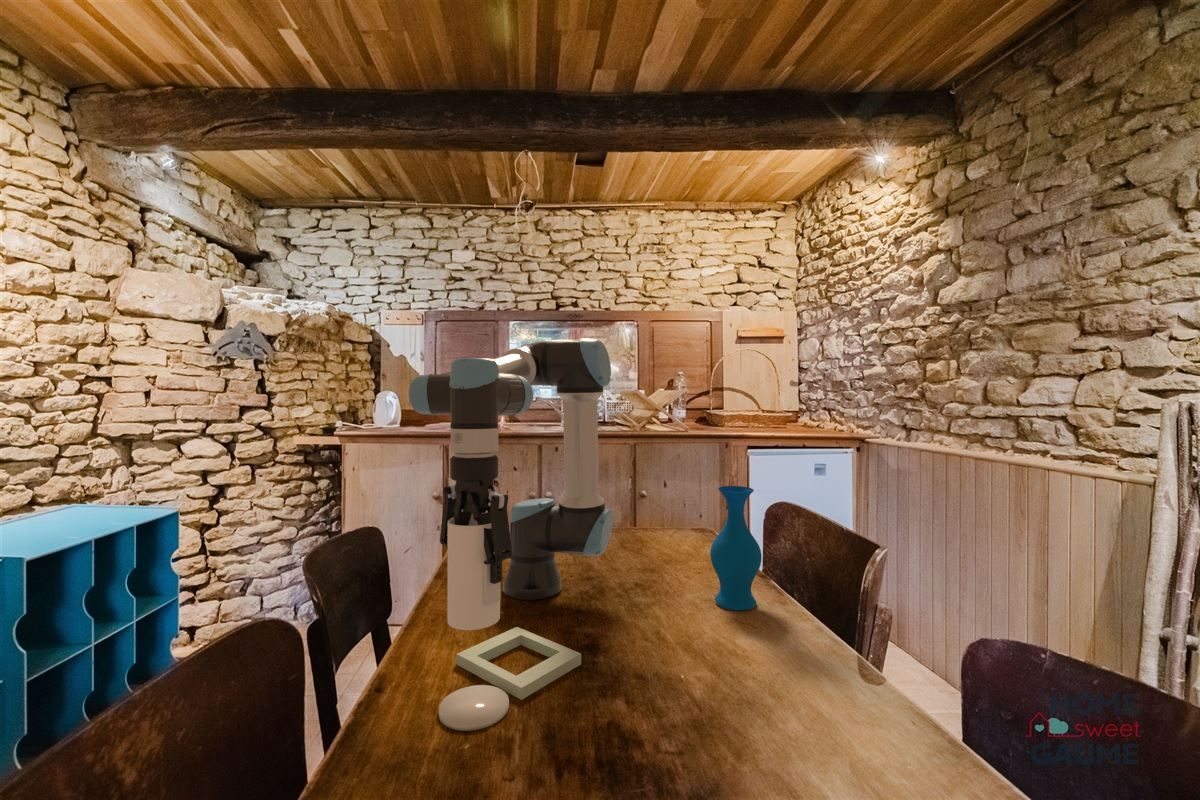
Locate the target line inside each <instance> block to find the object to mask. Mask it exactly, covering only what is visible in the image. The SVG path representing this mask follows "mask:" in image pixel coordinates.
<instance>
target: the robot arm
mask: <svg viewBox="0 0 1200 800" xmlns="http://www.w3.org/2000/svg"><path fill="white" fill-rule="evenodd" d="M611 376H612V366H611V359H610V355H609V353H608V349H607V347H606V345H605V344H604V343H603V342H602V341H601V340H599V339H596V338H585V337H584V338H571V339H570V338H569V339H566V338H565V339H543V340H539V341H538V340H537V341H534V342H531V343H530V342H529V343H527V344H524V345H521V346H518V347H515V348H512V349H509V350H507V351H506V352H505V353H504V354H503V355H502V356H499V357H496V358H484V357H481V358H480V357H460V358H456V359H454V360H453V361H452V362H451V364H450V371H447V372H444V373H440V374H439V373H438V374H433V373H428V374H421V375H417V376H416V377H414V378H413V380H412V381H411V383H410V385H409V388H408V398H409V403H410V404H409V405H410V406H411V408H412V409H413V410H414V411H415V412H416V413H418V414H420V415H430V416H450V426H449V427H450V453H451V454H453V455H452V456H451V458H450V459H449V478H450V479H451V480H452V481H454V482H455V485H447V486H444V487H443V489H442V490H443V491H442V492H443V493H442V494H443V508H442V516H441V526H440V535H439V543H440V545H444V546H445V548H446V551H448V520H449V519H451V518H454V525H461V526H468V525H469V522H470V518H471V515H472V514H473V518H474V520H475V521H477V522H478V525H485V524H490V523H491V527H492V528H490V529H487V528H484V549H485V553H486V557H487V560H486V561H484V605H486V606H488V605H490V604H493V603H496V602H498V601H500V602H501V582H502V580H503V582H502V592H503V594H504V595H505V596H507V597H509V598H510V599H512V598H513V599H516V600H522V601H523V600H525V601H526V600H527V601H536V600H542V599H547V598H551V597H553V596H556V595H557V594H559V593H560V592H561V591H562V578H561V575H560V572H559V569H558V565H557V562H556V558H555V557H556V553H560V554H567V555H568V554H569V555H570V554H571V555H580V556H583V557H587V556H594V557H599V556H601V555H602V554H603V553H605V551H606V549H607V547H608V545H609V543H610V539H611V536H612V531H613V523H614V515H613V512H612V510H611V509H609V508H606V504H605V503H606V502H605V501H606V500H605V499H604V498H603V497H602V496H601V495H600V494H599V493H600V492H599V491H600V490H599V427H598V423H599V422H598V421H599V419H598V414H599V413H598V411H599V410H598V400H599V398H600V397H601V396H602V395H603V394H604V387H607V386H608V385H610V383H611ZM532 386H540V387H541V386H544V387H547V386H548V387H549V386H550V387H556V394H557V395H558V397H559V398H561V400H562V406H563V407H562V415H563V419H562V420H563V462H564V463H563V465H564V466H563V467H564V469H563V470H564V471H563V474H564V495H563V496H562V497H561V498H560V499H559V501H558V505H556V503H557V502H556V501H555V499H554V498H550V497H543V498H532V499H528V500H523V501H520V502H517V503H515V504H513V505H512V506H511V508H510V514H509V515H508V503H509V496H508V494H507V493H498V492H496V489H495V486H494V481H495V479H497V478H498V476H499V457H498V456H497V455H496V454H495V453H497V452H498V451H499V417H503V416H505V417H506V416H511V417H514V416H516V415H520V414H523V413H524V412H526V411H527V410H528V409H529V408H530V407H531V405H532V402H533V400H534V390H533V387H532ZM493 552H494V553H495V554H493ZM507 559H509V563H508V566H507V571H506V574H505V577H504V578H503V561H504V560H507Z"/></svg>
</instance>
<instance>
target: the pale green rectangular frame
mask: <svg viewBox="0 0 1200 800" xmlns="http://www.w3.org/2000/svg"><path fill="white" fill-rule="evenodd" d="M519 646H523V647H525V648H527V649H528V650H532V651H533V652H536V653H539V654H540V655H543V656H546V657H548V658H547V659H545V660H543V661H541V662H539V663H537V664H535V665H534V666H532V667H530V668H528V669H526V670H524V671H523V672H521V673H519V674H517V675H516V674H514V673H512V672H510V671H508V670H506V669H504V668H502V667H500V666H498V665H496V664H494V663H492V662H490V661H491V660H493V659H495V658H497V657H499V656H501V655H504V654H505V653H507V652H509V651H511V650H513V649H515V648H518V647H519ZM455 656H456V658H455V660H456V661H455V662H456V666H459V667H460V668H462V669H463V670H466V671H468V672H469V673H471V674H472V675H475V676H477V677H478V678H480V679H482V680H484V681H486V682H488V683H490V684H492V686H494V687H497V688H500V689H501V690H503V691H504V692H505V693H508V694H509V695H512V696H513V697H515V698H517V699H519V700H520V701H523V700H524V699H526V698H527V697H529V696H530V695H532V694H534V693H535V692H537V691H539V690H540V689H543V688H544V687H545V686H547V685H549V684H551V683H552V682H554V681H556V680H557V679H558V678H561V677H562V676H565V674H567V673H569V672H570V671H572V670H574V669H576V668H577V667H579V666H581V665H582V653H580V652H578V651H576V650H573V649H571V648H569V647H566V646H564V645H561V644H559V643H557V642H554V641H552V640H550V639H547V638H545V637H542V636H540V635H538V634H535V633H533V632H530V631H528V630H526V629H523V628H520V627H518V626H515V627H512V628H511V629H509V630H507V631H505V632H502V633H500V634H498V635H495V636H492V637H490V638H488V639H486V640H484V641H482V642H480V643H477V644H476V645H473V646H471V647H468V648H467V649H465V650H462V651H460V652H458V653H456V655H455Z"/></svg>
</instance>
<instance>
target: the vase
mask: <svg viewBox="0 0 1200 800" xmlns="http://www.w3.org/2000/svg"><path fill="white" fill-rule="evenodd" d="M717 490H718V491H719V492H720V494H722V496H723V497H724V500H725V503H726V506H727V517H726V520H725V523H724V526H723V528H722V529H721V531H720V532H719V533H718V534H717V536H716V537H715V538H714V540H713V542H712V545H711V547H710V552H709V556H710V560H711V565H712V567H713V570H714V571H715V574H716V575H717V578H718V580H719V587H720V588H719V590H718V591H719V592H718V593H717V595H716V596H715V597H714V602H715V603H716V604H717V605H718V606H720V607H721V608H724V609H726V610H730V611H737V612H738V611H739V612H742V611H743V612H744V611H749V610H752V609H754V608H755V607H756V606H757V604H758V603H757V601H756V598H755V597H754V596H753V593H752V585H753V582H754V579H755V578H756V576H757V574H758V572H759V570H760V568H761V565H762V558H763V557H762V551H761V548H760V545H759V543H758V542H757V539H755V537H754V536H753V534H752V533H751V531H750V528H748V525H747V523H746V520H745V506H746V502H747V500H748V498H749V497H750V496H751V494H753V492H755V491H754V489H753V488H752V487H749V486H748V487H747V486H742V485H741V486H740V485H725V486H720V487H718V488H717Z"/></svg>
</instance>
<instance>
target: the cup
mask: <svg viewBox="0 0 1200 800" xmlns="http://www.w3.org/2000/svg"><path fill="white" fill-rule="evenodd" d="M484 528H487V529H490V528H492V527H491V523H490V524H485V525H478V522H477V521H475V520H474V518H473V514H472V515H471V518H470V522H469V525H468V526H461V525H454V518H451V519H449V520H448V534H447V536H448V550H447V601H446V603H447V606H446V607H447V608H446V609H447V614H446V615H447V616H446V617H447V618H446V619H447V624H448V626H449V627H450V628H453V629H456V630H460V631H477V630H481V629H486V628H489V627H491V626H494V625H496V624H497V622H499V620H500V619H501V600H500V601H498V602H496V603H493V604H490V605H488V606H486V605H484V561H486V560H487V557H486V553H485V549H484ZM493 554H495V553H494V552H493Z"/></svg>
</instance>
